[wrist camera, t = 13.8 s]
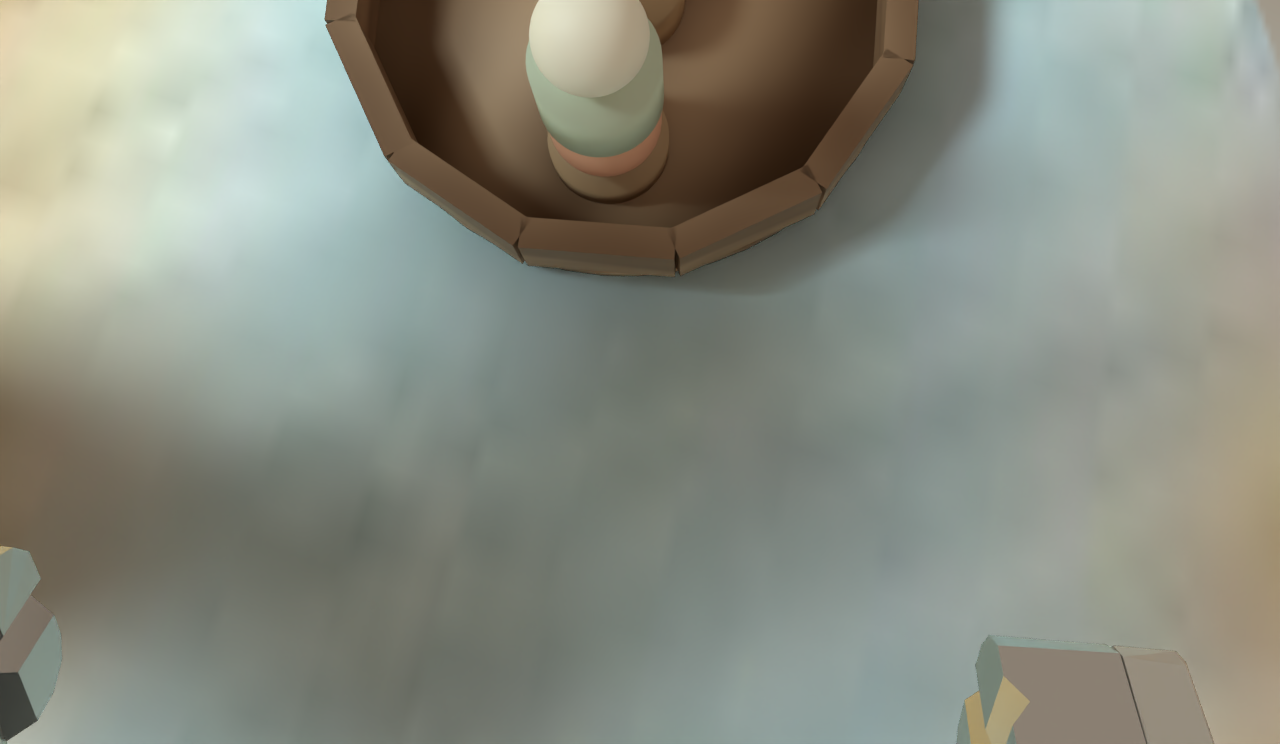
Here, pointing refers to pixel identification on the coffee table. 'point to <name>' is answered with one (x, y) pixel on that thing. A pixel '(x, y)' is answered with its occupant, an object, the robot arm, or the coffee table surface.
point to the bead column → (600, 95)
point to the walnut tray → (693, 105)
